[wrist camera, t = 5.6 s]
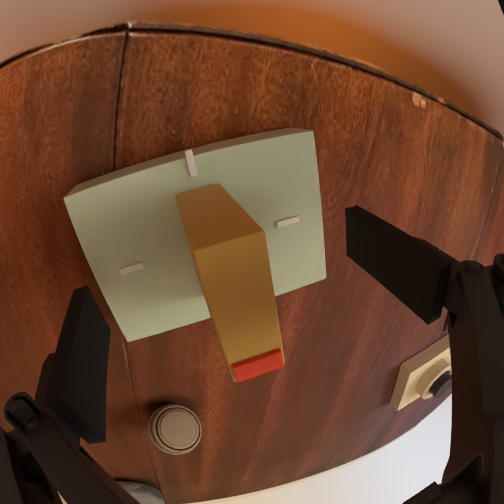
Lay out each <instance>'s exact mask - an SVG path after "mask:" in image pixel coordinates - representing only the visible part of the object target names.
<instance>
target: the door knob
mask: <svg viewBox="0 0 504 504" xmlns="http://www.w3.org/2000/svg"><path fill="white" fill-rule="evenodd" d="M201 433H202V429H201V424H200V421H199V419H198V418H197V416H196V415H195V414H194V413H193V412H192V411H191V410H189V409H188V408H186V407H184V406H181V405H176V404H169V405H164V406H162V407H160V408H158V409H157V410H155V411H154V412H153V414H152V415H151V417H150V419H149V421H148V434H149V437H150V439H151V441H152V442H153V444H154V445H155V446H156V447H157V448H159V449H160V450H162V451H163V452H166V453H169V454H174V455H179V454H184V453H187V452H189V451H191V450H192V449H194V448H195V447H196V445H197V444H198V443H199V441H200V438H201Z"/></svg>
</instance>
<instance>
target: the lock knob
mask: <svg viewBox="0 0 504 504" xmlns="http://www.w3.org/2000/svg"><path fill="white" fill-rule="evenodd" d="M176 200H177V204H178V208H179V211H180V215H181V219H182V222H183V226H184V230H185V233H186V237H187V241H188V244H189V248H190V251H191V255H192V258H193V262H194V265H195V268H196V272H197V275H198V278H199V282H200V285H201V288H202V292H203V295H204V298H205V301H206V304H207V307H208V310H209V313H210V316H211V319H212V322H213V325H214V328H215V331H216V334H217V337H218V340H219V343H220V346H221V349H222V351H223V354H224V357H225V360H226V363H227V366H228V368H229V371H230V374H231V377H232V379H233V381H237V382H241V381H244V380H247V379H250V378H253V377H256V376H259V375H262V374H264V373H267V372H270V371H273V370H276V369H278V368H281V367H283V366H284V365H283V364H284V363H285V361H284V354H283V347H282V341H281V334H280V327H279V320H278V313H277V307H276V300H275V293H274V287H273V280H272V274H271V267H270V261H269V254H268V248H267V242H266V235H265V231H264V230H263V229H262V228H261V227H260V226H259V225H258V224H257V223H256V222H255V220H254V219H253V218H252V217H251V216H250V215H249V214H248V213H247V212H246V211H245V210H244V209H243V208H242V207H241V206H240V205H239V203H238V202H237V201H236V200H235V199H234V198H233V197H232V196H231V195H230V194H229V193H228V192H227V191H226V190H225V189H224V188H223V187H222V186H221V185H220V184H215V185H211V186H207V187H204V188H200V189H196V190H192V191H189V192H185V193H182V194H178V195H176Z"/></svg>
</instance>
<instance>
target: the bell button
mask: <svg viewBox="0 0 504 504" xmlns="http://www.w3.org/2000/svg"><path fill="white" fill-rule="evenodd" d="M451 385H452V376H451V374H450V373H449V372H448V371H446V372H445V373H443V374H442V375H441V376H440V377H439V378H438V379H437V380H436V381H435V382H434V383H433V384H432V386H431V387H430V389H429V391H430V392H431V393H432V395H433V396H434V397H435V398H437V397H439V396H441V395H442V394H443V393H444V392H446V391H447V390H448V388H449V387H450V386H451Z"/></svg>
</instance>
